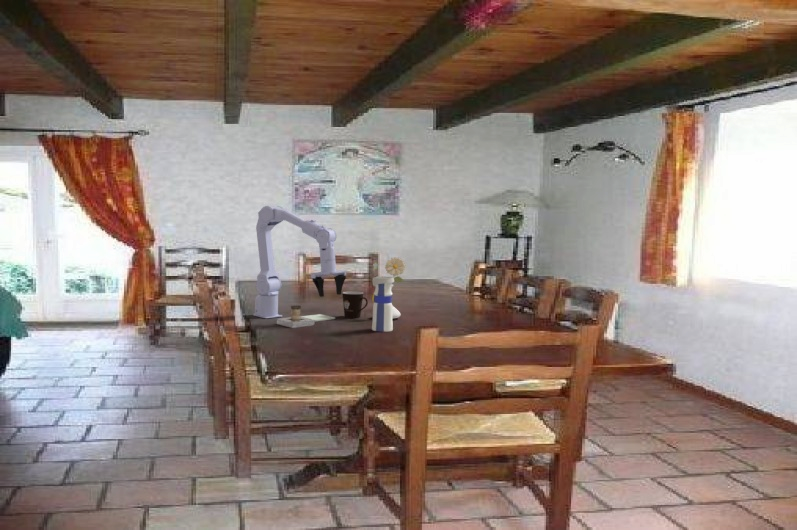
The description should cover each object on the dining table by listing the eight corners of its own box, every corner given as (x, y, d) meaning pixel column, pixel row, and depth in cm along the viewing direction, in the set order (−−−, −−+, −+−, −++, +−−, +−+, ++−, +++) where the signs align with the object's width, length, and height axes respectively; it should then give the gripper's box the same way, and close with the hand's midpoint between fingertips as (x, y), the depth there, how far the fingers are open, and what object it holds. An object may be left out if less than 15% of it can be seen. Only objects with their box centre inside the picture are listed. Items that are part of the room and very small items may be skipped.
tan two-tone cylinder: (288, 324, 241) (289, 305, 240) (296, 323, 243) (296, 305, 243) (294, 325, 238) (294, 307, 238) (302, 324, 241) (302, 306, 240)
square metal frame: (276, 324, 241) (276, 318, 240) (298, 321, 248) (298, 316, 248) (292, 327, 234) (292, 322, 233) (314, 325, 241) (314, 319, 240)
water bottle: (367, 330, 232) (369, 262, 230) (374, 326, 240) (375, 260, 238) (389, 332, 230) (391, 263, 228) (395, 328, 238) (397, 261, 236)
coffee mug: (338, 315, 263) (339, 291, 262) (358, 315, 267) (358, 291, 266) (348, 320, 253) (349, 295, 252) (369, 319, 256) (369, 294, 255)
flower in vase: (368, 319, 256) (370, 257, 254) (377, 315, 267) (379, 255, 265) (399, 322, 252) (401, 258, 250) (407, 317, 263) (409, 257, 261)
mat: (299, 318, 255) (299, 316, 255) (319, 315, 263) (319, 314, 262) (315, 321, 248) (315, 319, 248) (335, 318, 255) (335, 317, 255)
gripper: (316, 261, 238) (318, 298, 238) (349, 258, 246) (351, 293, 247) (307, 261, 243) (309, 297, 244) (340, 258, 252) (342, 293, 252)
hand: (330, 295), depth 246 cm, fingers open, 7 cm apart
